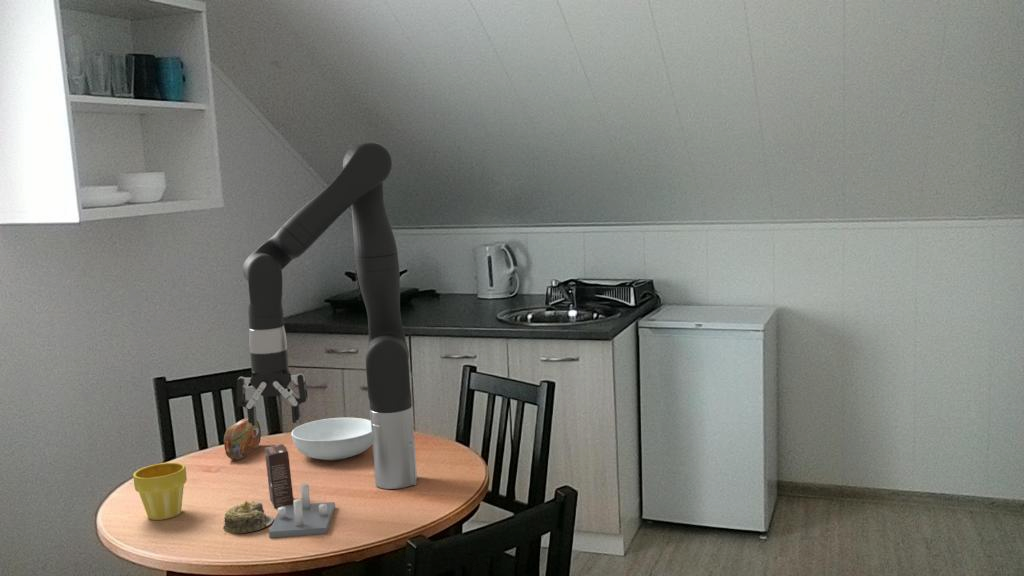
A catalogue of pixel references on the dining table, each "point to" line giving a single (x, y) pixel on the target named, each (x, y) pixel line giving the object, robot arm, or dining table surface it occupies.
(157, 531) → the dining table surface
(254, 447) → the tin
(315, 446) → the serving bowl
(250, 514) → the sea snail shell
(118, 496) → the dining table surface
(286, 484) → the box
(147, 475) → the plant pot
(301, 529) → the pin tray
